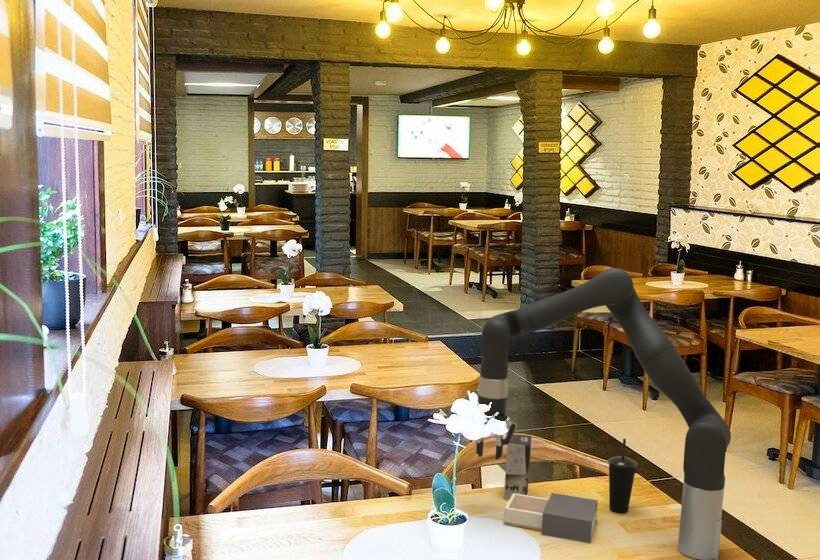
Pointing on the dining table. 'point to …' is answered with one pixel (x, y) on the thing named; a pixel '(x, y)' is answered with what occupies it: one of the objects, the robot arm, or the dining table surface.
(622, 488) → the drinking cup
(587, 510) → the sleeve
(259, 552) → the dining table surface
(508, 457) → the coffee box
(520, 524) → the sliding drawer box
